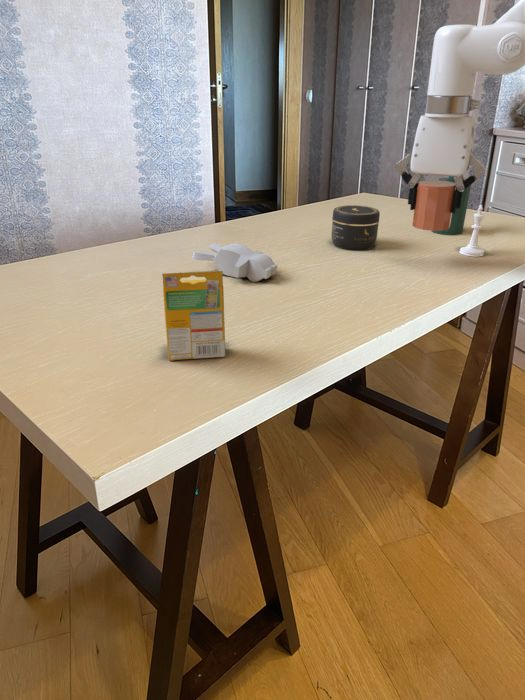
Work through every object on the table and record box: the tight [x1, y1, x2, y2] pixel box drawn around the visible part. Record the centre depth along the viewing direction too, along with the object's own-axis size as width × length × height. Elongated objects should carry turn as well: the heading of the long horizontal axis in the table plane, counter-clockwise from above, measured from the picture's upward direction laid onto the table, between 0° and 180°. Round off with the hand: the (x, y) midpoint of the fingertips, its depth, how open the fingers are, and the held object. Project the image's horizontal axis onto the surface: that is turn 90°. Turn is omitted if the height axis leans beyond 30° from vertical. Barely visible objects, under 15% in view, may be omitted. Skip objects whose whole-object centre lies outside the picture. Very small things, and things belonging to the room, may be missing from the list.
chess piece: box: [458, 204, 485, 258], centre depth 109 cm, size 5×5×10 cm
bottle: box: [431, 176, 472, 236], centre depth 124 cm, size 7×7×16 cm
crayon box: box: [161, 270, 226, 362], centre depth 66 cm, size 7×3×12 cm, turn 99°
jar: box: [331, 204, 381, 251], centre depth 114 cm, size 10×10×8 cm
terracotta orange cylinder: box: [412, 180, 456, 232], centre depth 100 cm, size 7×7×8 cm
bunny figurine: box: [191, 242, 279, 283], centre depth 97 cm, size 10×5×15 cm
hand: (433, 209), depth 101 cm, fingers closed on terracotta orange cylinder, 6 cm apart
